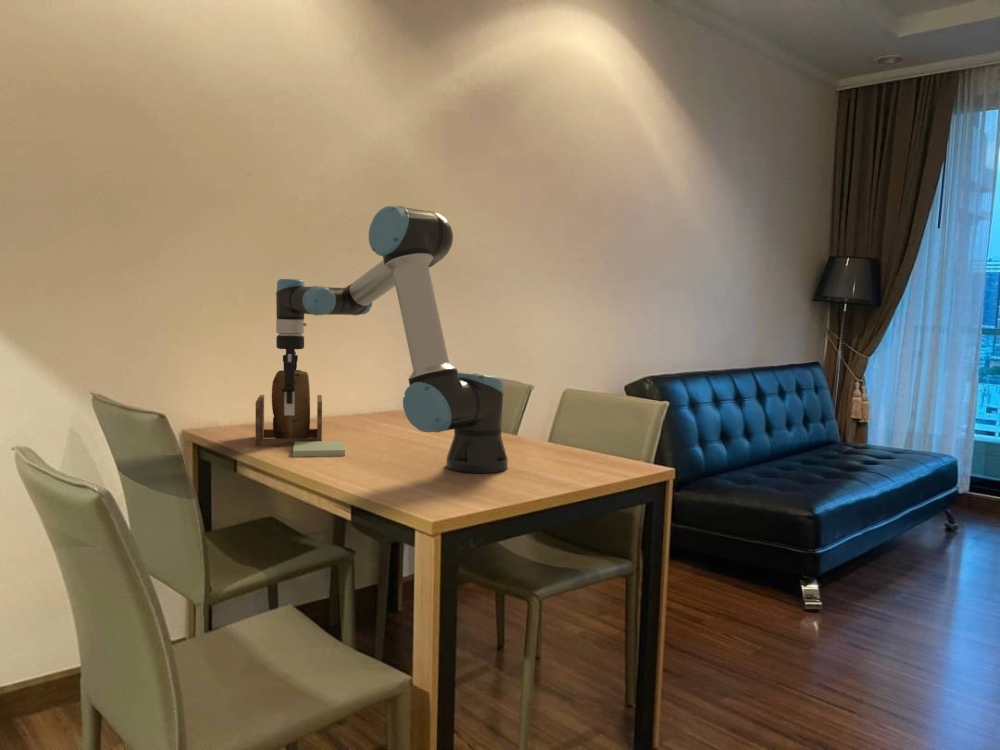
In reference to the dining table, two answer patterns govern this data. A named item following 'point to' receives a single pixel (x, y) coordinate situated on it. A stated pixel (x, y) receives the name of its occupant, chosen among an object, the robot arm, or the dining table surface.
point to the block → (301, 420)
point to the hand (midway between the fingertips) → (290, 412)
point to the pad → (318, 448)
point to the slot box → (283, 441)
